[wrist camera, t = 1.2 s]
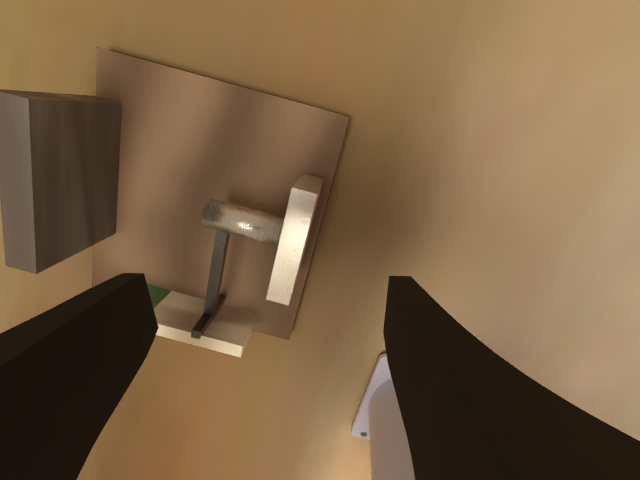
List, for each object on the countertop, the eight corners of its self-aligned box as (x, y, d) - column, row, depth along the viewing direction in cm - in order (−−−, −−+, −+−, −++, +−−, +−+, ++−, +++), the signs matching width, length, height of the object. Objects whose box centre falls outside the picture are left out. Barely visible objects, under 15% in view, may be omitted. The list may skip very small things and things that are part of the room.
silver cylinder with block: (323, 178, 19) (317, 194, 16) (287, 318, 23) (274, 359, 19) (229, 152, 19) (199, 162, 16) (206, 296, 23) (177, 333, 19)
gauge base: (350, 116, 20) (349, 118, 13) (291, 331, 25) (270, 409, 18) (109, 50, 19) (-15, 17, 13) (101, 280, 25) (11, 341, 18)
